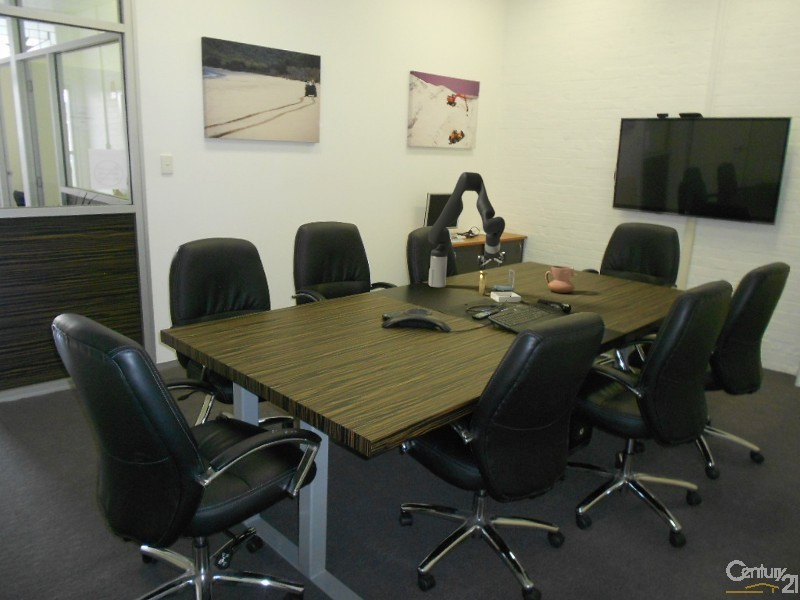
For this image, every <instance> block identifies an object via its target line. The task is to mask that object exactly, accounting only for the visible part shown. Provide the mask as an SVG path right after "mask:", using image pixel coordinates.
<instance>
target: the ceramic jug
mask: <svg viewBox="0 0 800 600" xmlns="http://www.w3.org/2000/svg"><path fill="white" fill-rule="evenodd" d="M550 269H551V270H548V271H546V272H545V274H544V275H545V276H544V277H545V281H546V284H547V288H548V290H549V291H551V292H553V293H558V294H567V293H571V292H573V291H574V290H575V289H576V286H575V285H574V283H572V282H571V281H570V279H571V278H572V277H577V276H578V274H577V273H574V269H575V268H574V267H572V266H566V265H552V266H551V267H550ZM549 274H550V275H551V276H552V278H553V279H552V280H551V281H549Z"/></svg>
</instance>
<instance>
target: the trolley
mask: <svg viewBox="0 0 800 600" xmlns="http://www.w3.org/2000/svg"><path fill="white" fill-rule="evenodd" d="M511 277H512V279H511ZM515 277H516V271H515V270H513V269H509V271H508V283H507V285H506V284H505V285H504V284H503V285H501V284H498V285H493V290H492V292H514V293H515V294H516V292H515V288H516V287H515V281H516V278H515ZM511 281H512V285H511Z"/></svg>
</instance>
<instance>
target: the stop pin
mask: <svg viewBox="0 0 800 600" xmlns="http://www.w3.org/2000/svg"><path fill="white" fill-rule="evenodd" d="M478 273H479V283H478V284H479V285H478V286H479V287H478V296H479V295H480V296H479V297H485V296H486V294H487V293H486V292H487V291H486V290H487V279H488V278H487V276H488V274H489V270H479V271H478Z"/></svg>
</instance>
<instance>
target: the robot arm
mask: <svg viewBox="0 0 800 600" xmlns="http://www.w3.org/2000/svg"><path fill="white" fill-rule="evenodd" d="M465 192H475V193H476V194H477V198H476V199H477V200H476V209H477V211H478V214H479V215H480V217H481V222H482V231H483V233H485V242H484V251H483V252H484V254H483V255H481V254H477V259H476V262H477V266H480V269H482V271H485V265H487V264H488V263H490V262H495V261H496V262H497V265H498V268H501V266H502V264H503V262H504V263H505V262H506V260H507V259H506V256H507V255H506V252H505V250H502V251H501V250H500V249H501V238H502V236H503V233H504V231H505V228H506V221H505V219H504V217H502V216H496V210H495V208H494V207H493V205H492V203H491V201H490V199H489V196H488V194H487V193H488V192H487V189H486V186H485V182H484V179H483V177H482V175H481V174H480V173H478V172H472V171H465V172H462V173H461V174H460V176H459V178H458V180H457V182H456V184H455V187H454V189H453V191H452V193H451V195H450V196H449V199H448V200H447V202H446V204H445V206H444V208H443V209H442V212H441V213H440V215H439V217H438V218H437V220H436V221H435V222H434V224H432V227H431V228H430V229H429V232H428V234H427V237H428V238H427V240H428V242H429V243H430V244H432V245H438V246H437V247H436V248H434V249H432V250H431V252H430V261H429V262H430V268H429V269H428V285H429V286H430V287H433V288H445V287H446V285H447V265H448V254H449V247H450V239H451V238H450V237H451V236H450V235H451V233H450V230H449V229H448V226H450V225H452V224H453V223H454V222H456V221H457V220H458V219H459V217H460V216H461V214H462V212H463V210H464V202H463V195H464V193H465ZM500 251H501V252H500Z"/></svg>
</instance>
